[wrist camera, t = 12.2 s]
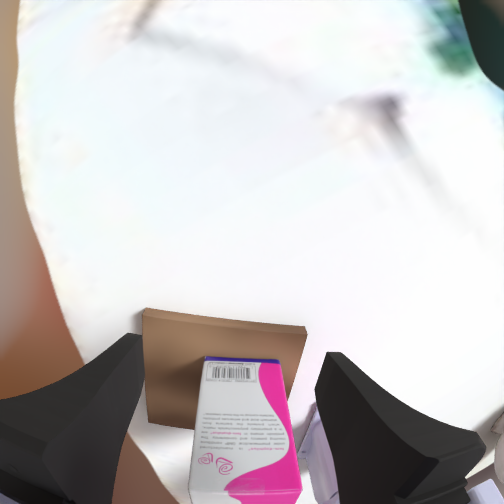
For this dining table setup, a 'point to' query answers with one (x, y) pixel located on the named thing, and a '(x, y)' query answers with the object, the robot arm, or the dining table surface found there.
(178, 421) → the cardboard square
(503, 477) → the ceramic pitcher
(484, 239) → the dining table surface
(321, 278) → the dining table surface
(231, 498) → the supplement box
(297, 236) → the dining table surface
